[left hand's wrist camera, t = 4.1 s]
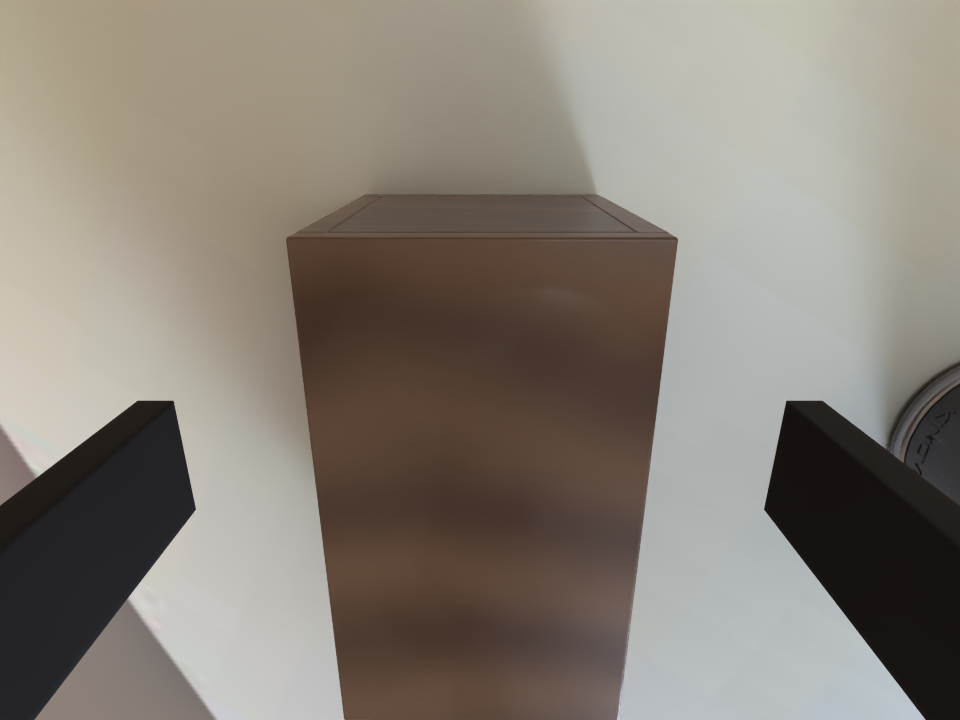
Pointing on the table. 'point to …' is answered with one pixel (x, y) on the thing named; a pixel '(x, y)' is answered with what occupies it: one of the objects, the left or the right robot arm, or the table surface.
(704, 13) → the table surface
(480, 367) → the cabinet
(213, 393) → the table surface
